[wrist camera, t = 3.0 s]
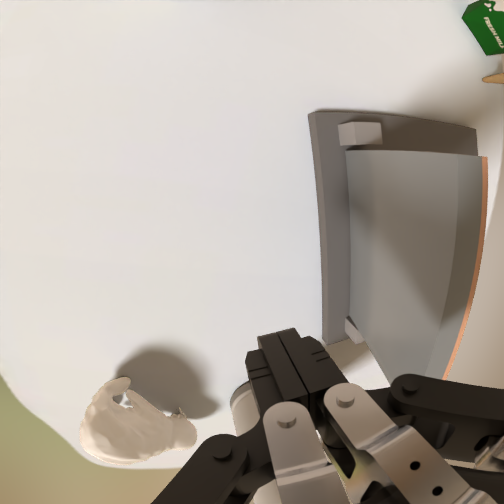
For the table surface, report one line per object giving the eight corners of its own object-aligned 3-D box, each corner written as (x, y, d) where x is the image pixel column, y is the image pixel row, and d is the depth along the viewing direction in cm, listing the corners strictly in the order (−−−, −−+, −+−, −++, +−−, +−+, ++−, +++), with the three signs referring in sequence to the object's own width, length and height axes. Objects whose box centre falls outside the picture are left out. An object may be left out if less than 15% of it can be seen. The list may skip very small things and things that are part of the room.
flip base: (307, 114, 18) (328, 107, 15) (468, 128, 22) (489, 129, 19) (322, 338, 25) (337, 359, 22) (461, 282, 28) (478, 292, 25)
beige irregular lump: (83, 434, 13) (221, 465, 18) (96, 360, 21) (204, 399, 26) (72, 460, 14) (189, 486, 19) (82, 394, 22) (178, 426, 27)
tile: (345, 150, 18) (457, 154, 7) (368, 149, 18) (487, 157, 7) (349, 314, 23) (407, 416, 12) (369, 310, 23) (433, 405, 12)
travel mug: (299, 381, 27) (385, 540, 8) (267, 418, 28) (324, 564, 9) (249, 369, 25) (322, 567, 6) (219, 409, 26) (261, 580, 7)
